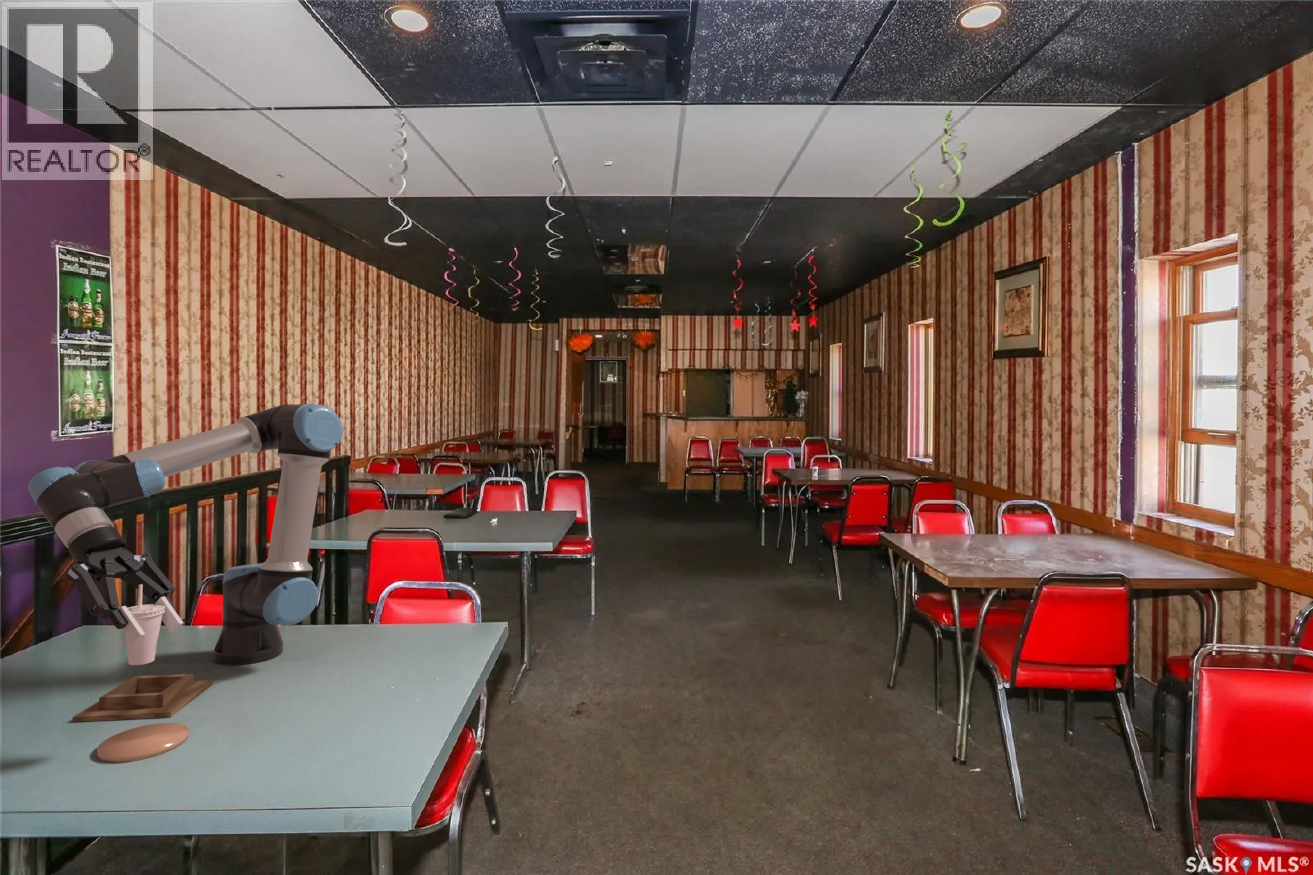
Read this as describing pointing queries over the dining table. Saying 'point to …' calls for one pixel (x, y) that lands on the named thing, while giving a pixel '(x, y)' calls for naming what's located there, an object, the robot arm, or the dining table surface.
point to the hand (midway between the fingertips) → (158, 633)
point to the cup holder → (145, 698)
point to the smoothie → (145, 631)
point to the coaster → (142, 742)
